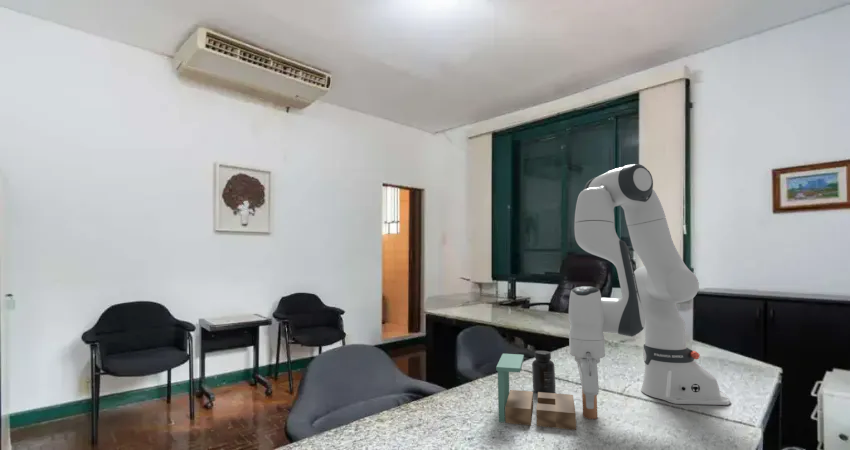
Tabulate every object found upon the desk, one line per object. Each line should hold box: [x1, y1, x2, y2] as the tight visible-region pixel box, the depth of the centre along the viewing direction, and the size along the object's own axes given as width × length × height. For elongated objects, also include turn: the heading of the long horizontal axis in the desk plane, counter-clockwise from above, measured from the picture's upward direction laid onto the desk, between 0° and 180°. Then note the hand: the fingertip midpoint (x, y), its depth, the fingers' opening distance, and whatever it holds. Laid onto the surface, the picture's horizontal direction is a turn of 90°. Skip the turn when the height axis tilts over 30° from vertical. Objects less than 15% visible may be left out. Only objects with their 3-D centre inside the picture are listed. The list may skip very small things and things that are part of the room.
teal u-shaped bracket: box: [495, 353, 525, 423], centre depth 115 cm, size 6×15×14 cm, turn 164°
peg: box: [581, 388, 598, 420], centre depth 112 cm, size 4×4×10 cm
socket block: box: [505, 389, 577, 431], centre depth 113 cm, size 17×14×4 cm
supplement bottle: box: [531, 350, 556, 394], centre depth 133 cm, size 7×7×12 cm
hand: (588, 401), depth 112 cm, fingers open, 8 cm apart
